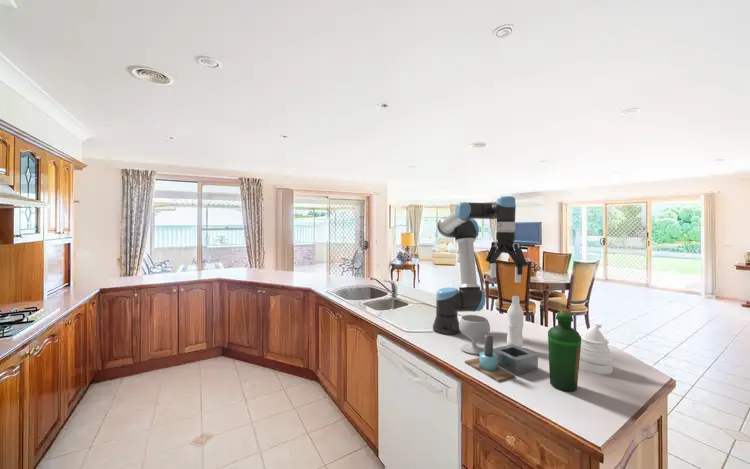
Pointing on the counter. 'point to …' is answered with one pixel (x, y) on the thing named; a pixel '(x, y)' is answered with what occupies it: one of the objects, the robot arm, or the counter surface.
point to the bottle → (564, 352)
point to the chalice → (474, 332)
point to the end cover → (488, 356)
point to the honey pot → (595, 352)
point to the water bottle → (515, 323)
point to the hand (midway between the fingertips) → (504, 279)
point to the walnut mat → (495, 375)
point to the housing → (516, 359)
